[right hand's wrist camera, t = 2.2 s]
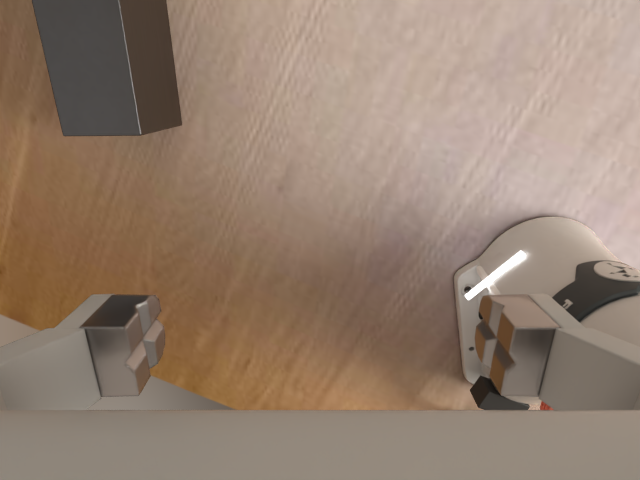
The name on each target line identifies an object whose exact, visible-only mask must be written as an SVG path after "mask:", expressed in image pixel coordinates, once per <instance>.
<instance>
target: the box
mask: <svg viewBox="0 0 640 480" xmlns="http://www.w3.org/2000/svg"><path fill="white" fill-rule="evenodd" d="M32 3H33V7H34V12H35V16H36V20H37V25H38V29H39V33H40V37H41V42H42V46H43V50H44V55H45V59H46V63H47V68H48V72H49V76H50V81H51V85H52V89H53V94H54V98H55V102H56V106H57V111H58V115H59V119H60V124H61V128H62V132H63V136H136V135H144V134H148V133H152V132H156V131H160V130H164V129H168V128H172V127H176V126H180V125H182V121H181V113H180V105H179V98H178V90H177V82H176V74H175V66H174V59H173V51H172V43H171V35H170V27H169V20H168V12H167V4H166V0H32Z"/></svg>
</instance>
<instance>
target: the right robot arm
mask: <svg viewBox="0 0 640 480" xmlns="http://www.w3.org/2000/svg"><path fill="white" fill-rule="evenodd" d="M468 286H469V287H470V288H469V289H468V290H464V289H465V287H468ZM454 289H455V299H456V309H457V319H458V329H459V339H460V349H461V359H462V369H463V374H464V376H465V378H466V379H467V381H468V382H470V383H472V384H474V385H473V387H472V388H471V389H470V392H471V394H472V396H473V398H474V400H475V402H476V404H477V406H478V407H479V408H481V409H484V410H87V409H88V408H89V407H91V406H92V405H93V404H95V403H96V402H97V401H99V400H100V399H101V397H116V396H139V395H140V393H141V391H142V390H143V388H144V386H145V385H146V383H147V381H148V379H149V378H150V376H151V375H150V370H149V369H150V368H152V367H153V366H155V365H156V364H158V363H159V361H160V359H161V357H162V355H163V351H164V347H165V331H164V326H163V325H162V324H161V323H160V322H159V321H158V320H157V319H156V318H157V317H158V315H159V314H160V312H161V307H160V302H159V299H158V298H157V296H156V295H130V294H116V295H115V294H95V295H91V296H90V297H89V298H88V299H86V300H85V301H84V302H83V303H82V304H81V305H80V306H79V307H77V308H76V309H75V310H74V311H73V312H72V313H71V314H70V315H68V316H67V317H66V318H65V319H64V320H63V321H62V322H61V323H60V324H58V325H57V326H56V327H55V328H47V329H44V330H42V331H39V332H37V333H34V334H32V335H29V336H27V337H24V338H22V339H19V340H17V341H14V342H12V343H9V344H7V345H4V346H2V347H0V480H640V271H639V270H637V269H635V268H633V267H631V266H629V265H626V264H624V263H622V262H621V261H620V260H619V259H617V258H616V257H615V256H614V255H613V254H612V253H611V252H610V251H609V250H608V249H607V248H606V247H605V245H604V244H603V243H602V242H601V240H600V239H599V238H598V236H597V235H596V234H595V233H594V232H593V231H592V230H591V229H590V228H588V227H587V226H586V225H584V224H582V223H580V222H578V221H575V220H573V219H569V218H564V217H541V218H536V219H532V220H528V221H525V222H523V223H520V224H518V225H516V226H514V227H512V228H511V229H509V230H507V231H506V232H504V233H503V234H502V235H500V236H499V237H498V238H497V239H496V240H495V241H494V242H493V243H492V244H491V245H490V246H489V247H488V248H487V249H486V251H485V252H484V253H483V254H482V255H481V256H480V257H479V258H478V259H476V260H474V261H472V262H471V263H469V264H467V265H465V266H464V267H462V268H461V269H459V270H458V271H457V272H456V274H455V275H454ZM528 404H531V405H540V410H528V409H529V407H530V406H529V405H528Z"/></svg>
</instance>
